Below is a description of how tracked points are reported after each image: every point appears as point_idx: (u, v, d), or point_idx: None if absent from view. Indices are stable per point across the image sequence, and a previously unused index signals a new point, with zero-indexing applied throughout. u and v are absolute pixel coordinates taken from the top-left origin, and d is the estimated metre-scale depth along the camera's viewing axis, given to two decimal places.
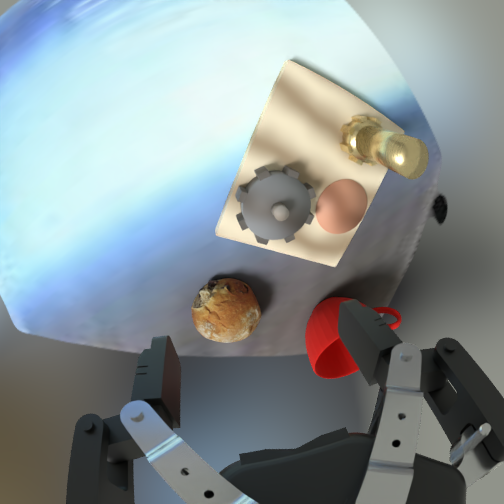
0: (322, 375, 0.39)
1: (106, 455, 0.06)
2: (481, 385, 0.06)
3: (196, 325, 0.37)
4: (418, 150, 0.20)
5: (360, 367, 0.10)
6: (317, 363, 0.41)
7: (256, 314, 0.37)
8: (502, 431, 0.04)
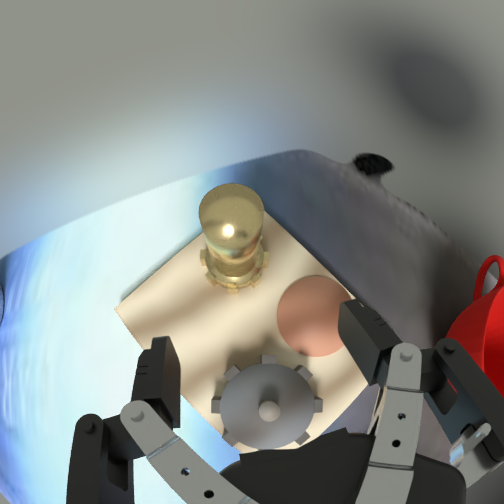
0: None
1: (106, 455, 0.06)
2: (482, 385, 0.06)
3: None
4: (220, 200, 0.17)
5: (360, 367, 0.10)
6: None
7: None
8: (502, 431, 0.04)
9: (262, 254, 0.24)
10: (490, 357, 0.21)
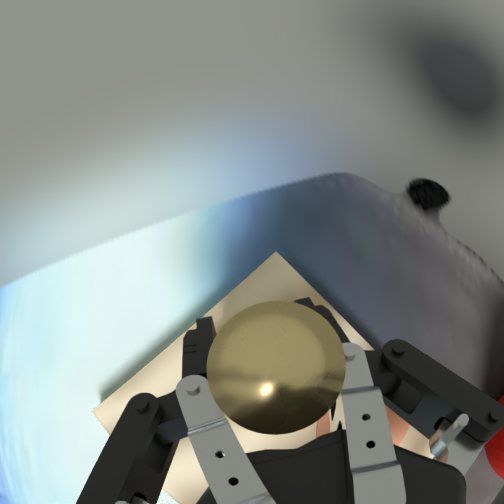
0: None
1: (151, 437, 0.07)
2: (445, 379, 0.07)
3: None
4: (254, 346, 0.07)
5: None
6: None
7: None
8: (481, 415, 0.05)
9: None
10: None
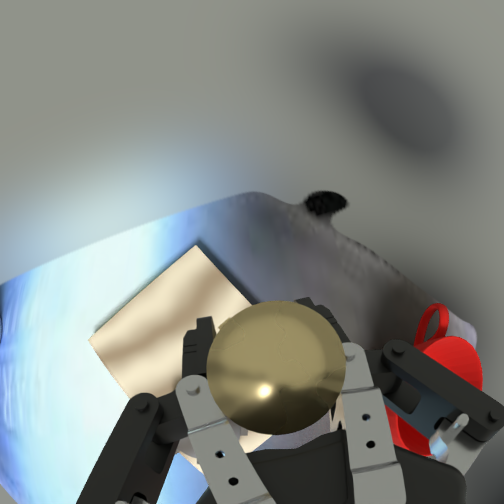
0: None
1: (151, 437, 0.07)
2: (444, 379, 0.07)
3: None
4: (254, 346, 0.07)
5: None
6: None
7: None
8: (481, 415, 0.05)
9: None
10: None
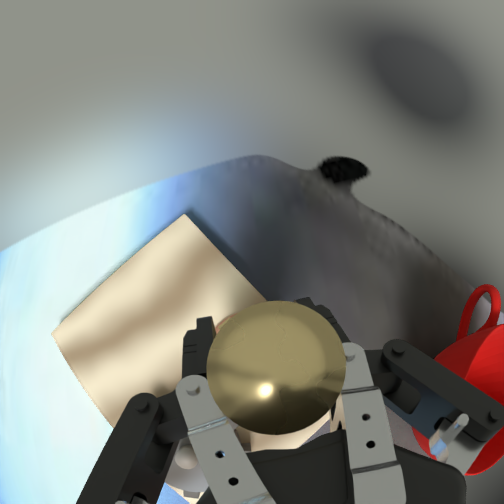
0: None
1: (151, 437, 0.07)
2: (444, 379, 0.07)
3: None
4: (254, 346, 0.07)
5: None
6: (487, 446, 0.12)
7: None
8: (481, 415, 0.05)
9: None
10: None
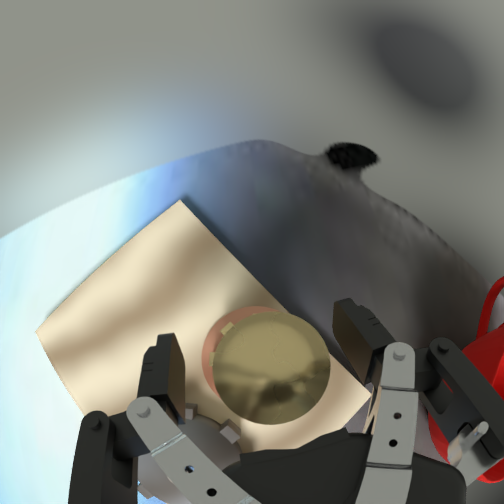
0: None
1: (111, 452, 0.06)
2: (477, 384, 0.06)
3: None
4: (252, 349, 0.09)
5: (354, 366, 0.11)
6: None
7: None
8: (500, 429, 0.04)
9: None
10: None
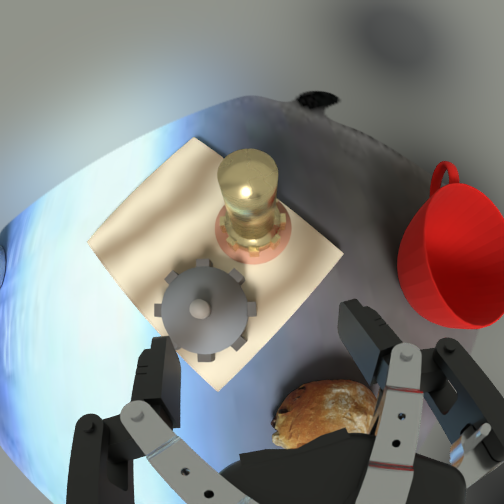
0: (502, 311, 0.16)
1: (106, 455, 0.06)
2: (482, 385, 0.06)
3: None
4: (236, 164, 0.18)
5: (360, 367, 0.10)
6: (484, 314, 0.18)
7: (343, 392, 0.20)
8: (502, 431, 0.04)
9: (279, 216, 0.25)
10: (464, 278, 0.24)
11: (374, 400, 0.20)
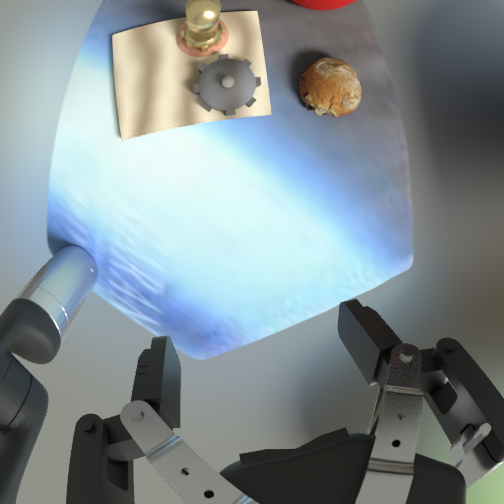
0: None
1: (106, 455, 0.06)
2: (482, 385, 0.06)
3: (351, 110, 0.35)
4: (194, 7, 0.20)
5: (360, 367, 0.10)
6: None
7: (321, 64, 0.32)
8: (502, 431, 0.04)
9: None
10: None
11: (339, 59, 0.32)
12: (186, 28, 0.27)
